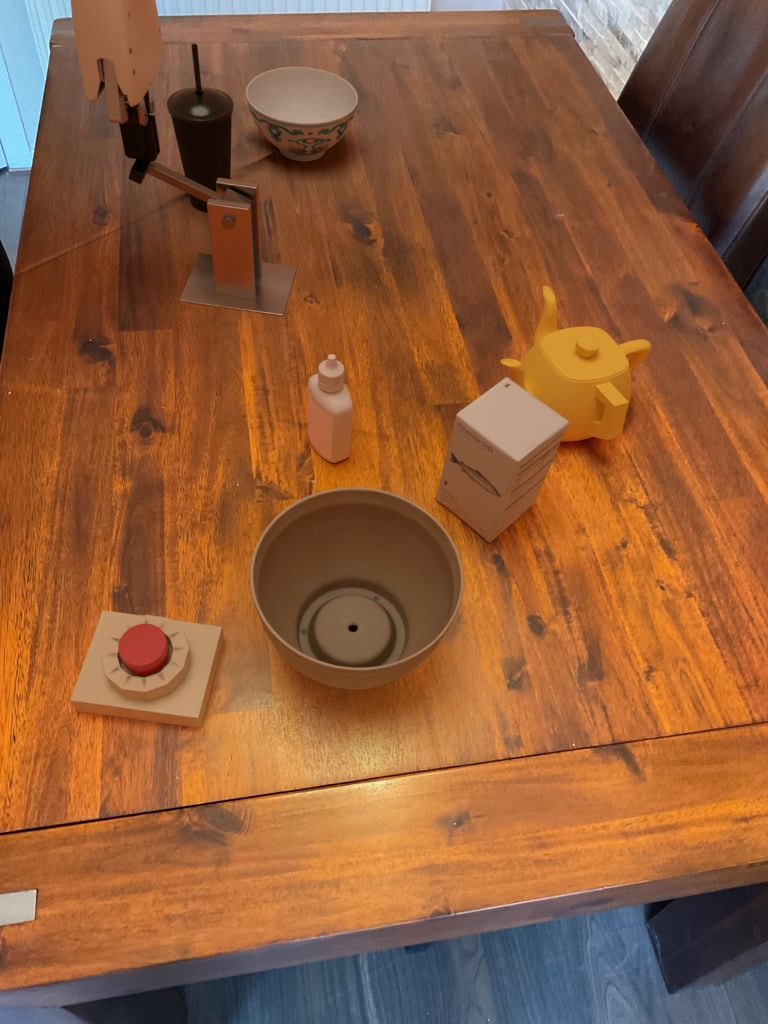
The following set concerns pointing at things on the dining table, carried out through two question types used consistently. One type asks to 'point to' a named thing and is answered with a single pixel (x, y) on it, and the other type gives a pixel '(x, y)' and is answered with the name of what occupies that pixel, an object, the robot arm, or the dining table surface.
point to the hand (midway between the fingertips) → (143, 155)
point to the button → (144, 649)
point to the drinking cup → (202, 132)
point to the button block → (158, 695)
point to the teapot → (579, 374)
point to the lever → (181, 182)
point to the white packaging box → (499, 457)
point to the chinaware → (301, 109)
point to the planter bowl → (355, 585)
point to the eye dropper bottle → (329, 411)
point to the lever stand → (238, 259)
